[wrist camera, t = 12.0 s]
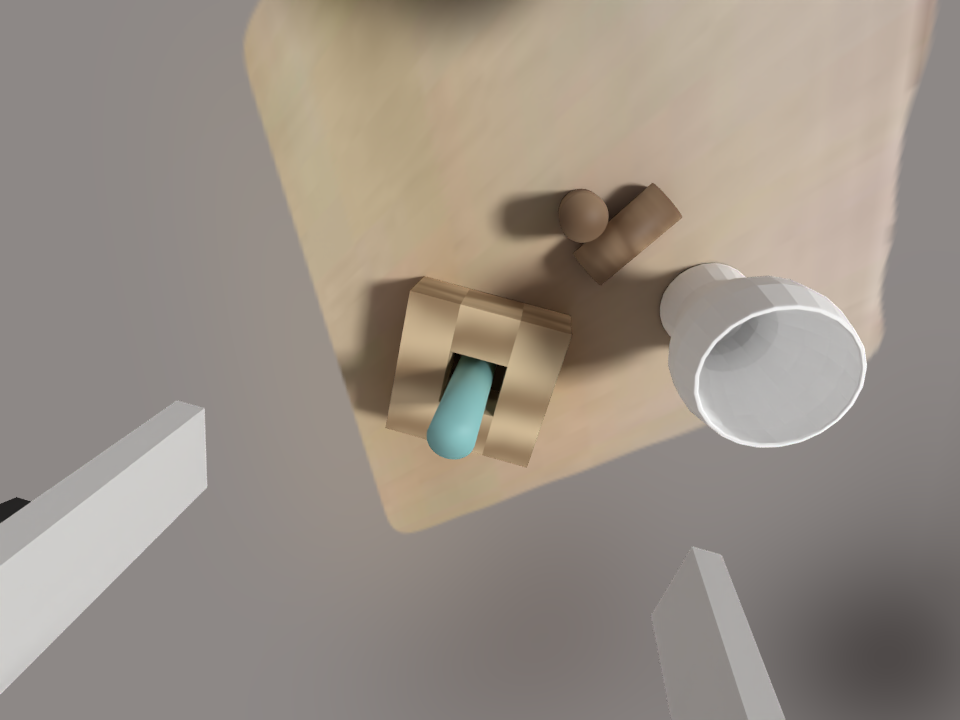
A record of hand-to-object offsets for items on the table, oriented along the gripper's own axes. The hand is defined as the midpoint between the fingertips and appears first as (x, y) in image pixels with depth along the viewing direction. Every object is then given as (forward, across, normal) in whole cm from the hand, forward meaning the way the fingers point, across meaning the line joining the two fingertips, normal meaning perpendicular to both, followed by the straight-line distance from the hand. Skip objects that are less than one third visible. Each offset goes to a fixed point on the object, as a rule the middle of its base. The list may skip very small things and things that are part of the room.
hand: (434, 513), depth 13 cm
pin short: (+33, +4, +4) cm, 34 cm away
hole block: (+33, -1, -12) cm, 35 cm away
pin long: (+33, -1, -12) cm, 35 cm away
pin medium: (+32, +6, 0) cm, 32 cm away
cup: (+34, +17, -1) cm, 38 cm away
